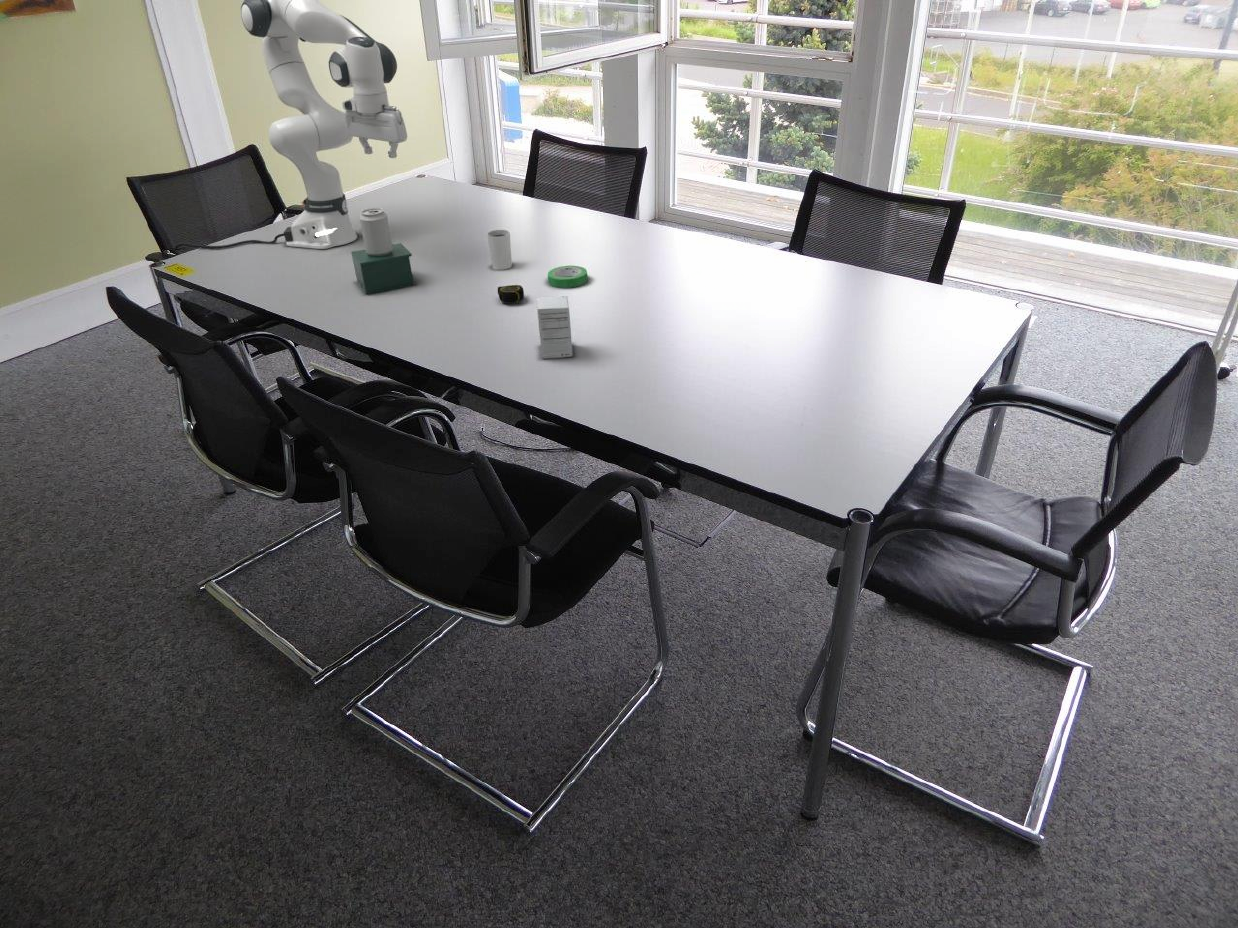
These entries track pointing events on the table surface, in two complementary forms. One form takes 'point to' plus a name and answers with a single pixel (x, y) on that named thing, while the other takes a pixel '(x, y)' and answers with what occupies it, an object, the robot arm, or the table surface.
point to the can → (375, 232)
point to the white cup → (500, 249)
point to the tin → (384, 275)
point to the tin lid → (396, 253)
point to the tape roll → (560, 281)
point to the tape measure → (511, 293)
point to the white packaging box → (554, 326)
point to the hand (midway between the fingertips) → (380, 155)
